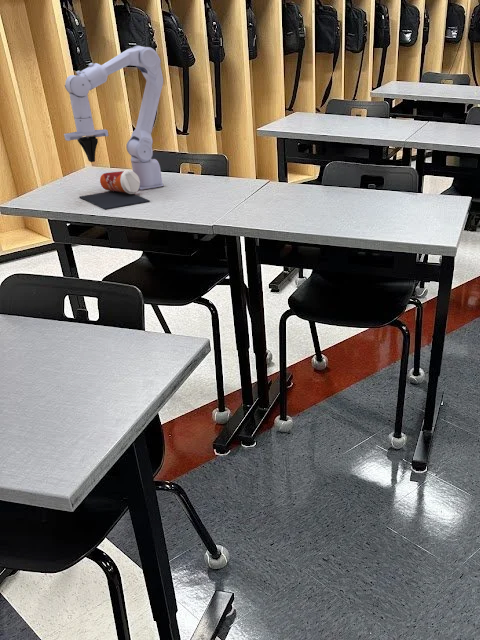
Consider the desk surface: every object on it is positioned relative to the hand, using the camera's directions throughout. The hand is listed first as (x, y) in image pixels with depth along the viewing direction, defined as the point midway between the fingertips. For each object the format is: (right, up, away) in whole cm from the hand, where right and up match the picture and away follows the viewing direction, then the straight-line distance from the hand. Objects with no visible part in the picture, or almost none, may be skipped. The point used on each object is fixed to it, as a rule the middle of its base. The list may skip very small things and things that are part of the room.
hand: (91, 161), depth 225 cm
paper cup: (+2, -4, +8) cm, 9 cm away
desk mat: (+8, -14, -1) cm, 16 cm away
